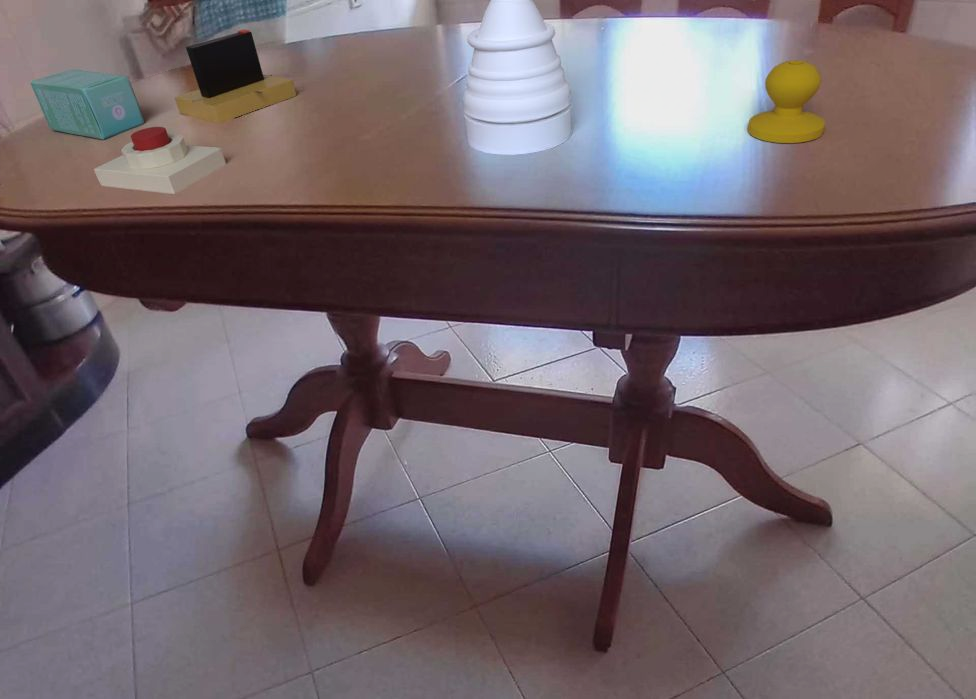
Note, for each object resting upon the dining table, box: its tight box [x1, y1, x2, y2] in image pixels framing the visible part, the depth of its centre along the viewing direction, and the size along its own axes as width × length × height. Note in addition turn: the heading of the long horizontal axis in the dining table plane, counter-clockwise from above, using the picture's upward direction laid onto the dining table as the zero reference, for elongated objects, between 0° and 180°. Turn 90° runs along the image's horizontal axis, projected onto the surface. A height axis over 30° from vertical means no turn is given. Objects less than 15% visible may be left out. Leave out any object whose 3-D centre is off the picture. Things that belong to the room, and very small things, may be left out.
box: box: [29, 68, 145, 141], centre depth 103 cm, size 7×14×8 cm, turn 59°
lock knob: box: [185, 29, 264, 98], centre depth 105 cm, size 10×2×7 cm, turn 141°
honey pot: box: [462, 0, 573, 156], centre depth 81 cm, size 13×13×18 cm
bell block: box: [93, 132, 227, 195], centre depth 85 cm, size 12×9×4 cm
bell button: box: [130, 126, 171, 151], centre depth 83 cm, size 4×4×2 cm
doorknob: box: [747, 59, 826, 144], centre depth 77 cm, size 8×8×8 cm
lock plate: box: [173, 74, 297, 124], centre depth 108 cm, size 14×14×3 cm
